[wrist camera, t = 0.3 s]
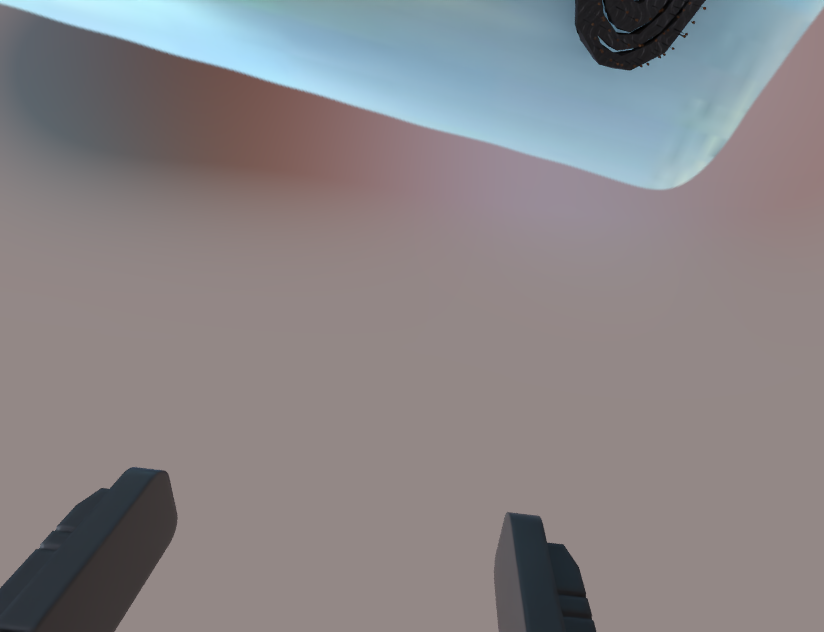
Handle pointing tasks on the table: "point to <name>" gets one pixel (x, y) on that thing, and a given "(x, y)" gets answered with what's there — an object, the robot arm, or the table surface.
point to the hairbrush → (632, 28)
